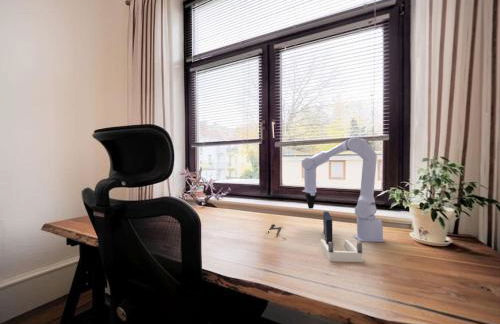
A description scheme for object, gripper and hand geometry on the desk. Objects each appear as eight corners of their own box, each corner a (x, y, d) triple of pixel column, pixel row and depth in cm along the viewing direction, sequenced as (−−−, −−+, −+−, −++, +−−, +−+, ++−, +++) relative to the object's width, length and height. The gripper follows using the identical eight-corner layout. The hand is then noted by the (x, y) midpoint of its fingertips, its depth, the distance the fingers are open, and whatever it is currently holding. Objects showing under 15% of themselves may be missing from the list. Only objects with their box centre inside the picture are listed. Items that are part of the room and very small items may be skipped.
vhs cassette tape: (332, 244, 93) (332, 220, 93) (325, 244, 93) (324, 219, 94) (329, 232, 110) (329, 211, 110) (323, 231, 111) (323, 211, 111)
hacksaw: (271, 226, 124) (271, 223, 124) (290, 227, 121) (290, 224, 121) (261, 240, 101) (261, 236, 101) (285, 241, 98) (285, 238, 98)
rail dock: (348, 246, 90) (348, 230, 90) (363, 262, 75) (362, 243, 75) (320, 245, 91) (319, 230, 92) (329, 261, 76) (328, 243, 76)
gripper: (300, 180, 125) (301, 206, 125) (304, 182, 111) (304, 210, 111) (313, 180, 125) (314, 205, 124) (319, 182, 110) (319, 210, 110)
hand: (310, 208), depth 117 cm, fingers closed
